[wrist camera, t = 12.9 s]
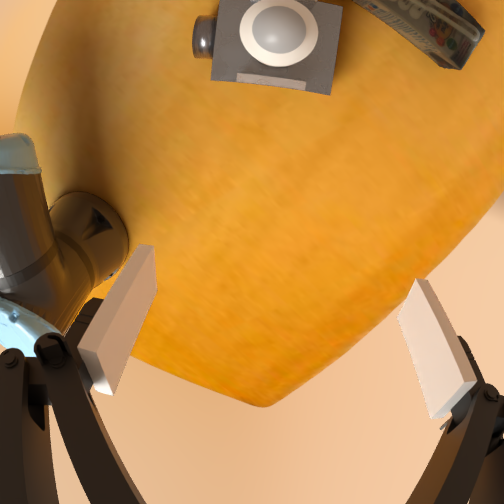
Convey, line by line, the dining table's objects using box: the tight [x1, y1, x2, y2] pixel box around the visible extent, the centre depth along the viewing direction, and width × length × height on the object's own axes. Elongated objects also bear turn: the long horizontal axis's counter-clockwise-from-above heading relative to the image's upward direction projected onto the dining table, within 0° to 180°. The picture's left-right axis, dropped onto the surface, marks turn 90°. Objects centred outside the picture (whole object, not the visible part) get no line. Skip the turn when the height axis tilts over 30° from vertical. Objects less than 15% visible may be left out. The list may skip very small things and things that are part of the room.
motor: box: [192, 0, 343, 95], centre depth 27 cm, size 14×10×10 cm
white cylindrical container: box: [240, 0, 318, 67], centre depth 22 cm, size 6×6×8 cm
